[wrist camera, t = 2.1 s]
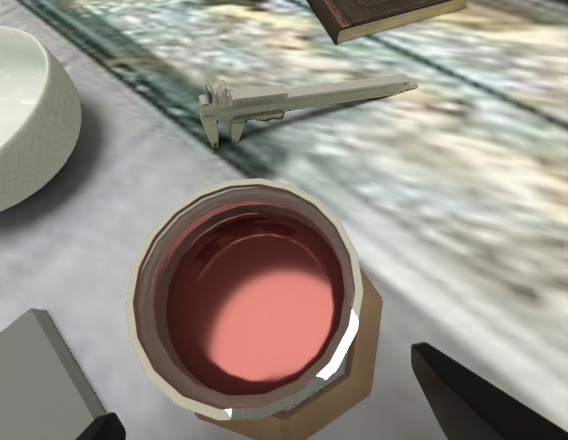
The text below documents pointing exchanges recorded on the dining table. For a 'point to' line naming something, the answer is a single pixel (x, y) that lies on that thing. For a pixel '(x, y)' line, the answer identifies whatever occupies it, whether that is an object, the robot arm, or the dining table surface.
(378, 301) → the ring holder
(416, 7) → the hardcover book
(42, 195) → the dining table surface
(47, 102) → the cereal bowl
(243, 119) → the caliper
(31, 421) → the slate board
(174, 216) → the wineglass
